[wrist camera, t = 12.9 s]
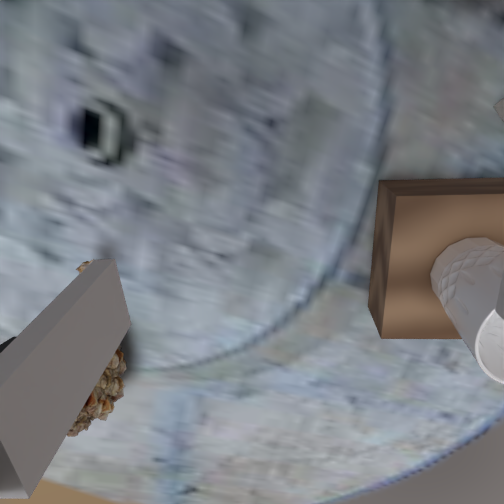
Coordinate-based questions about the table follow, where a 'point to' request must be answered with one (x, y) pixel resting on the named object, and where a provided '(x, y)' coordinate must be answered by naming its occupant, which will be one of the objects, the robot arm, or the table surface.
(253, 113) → the table surface
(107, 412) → the pine cone
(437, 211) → the walnut block
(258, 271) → the table surface
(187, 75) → the table surface
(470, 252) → the white cup
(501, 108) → the pale block
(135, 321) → the table surface
